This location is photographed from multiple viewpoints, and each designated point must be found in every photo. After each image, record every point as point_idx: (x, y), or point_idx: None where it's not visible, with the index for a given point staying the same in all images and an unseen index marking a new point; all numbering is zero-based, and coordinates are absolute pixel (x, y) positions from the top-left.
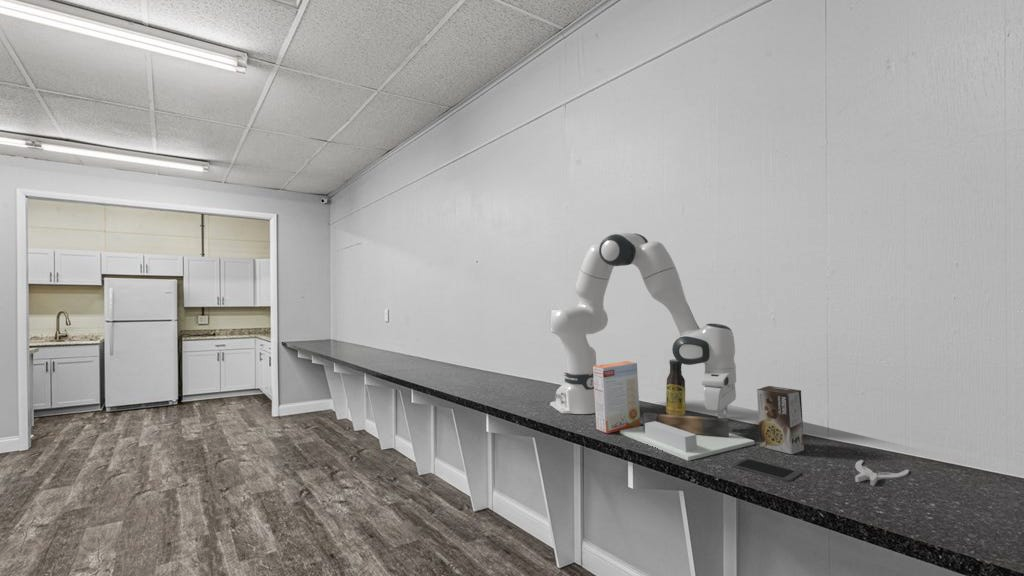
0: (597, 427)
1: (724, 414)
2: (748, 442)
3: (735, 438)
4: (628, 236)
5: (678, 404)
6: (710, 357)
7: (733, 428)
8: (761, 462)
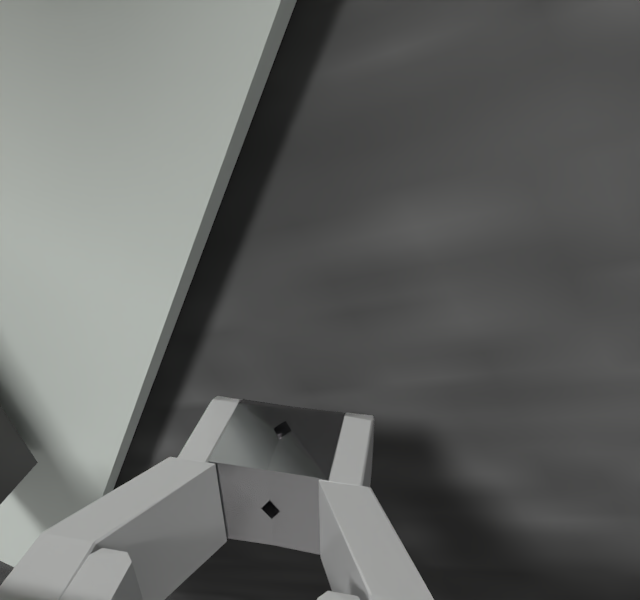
0: None
1: (313, 538)
2: (8, 559)
3: (9, 496)
4: None
5: None
6: None
7: (463, 434)
8: None
